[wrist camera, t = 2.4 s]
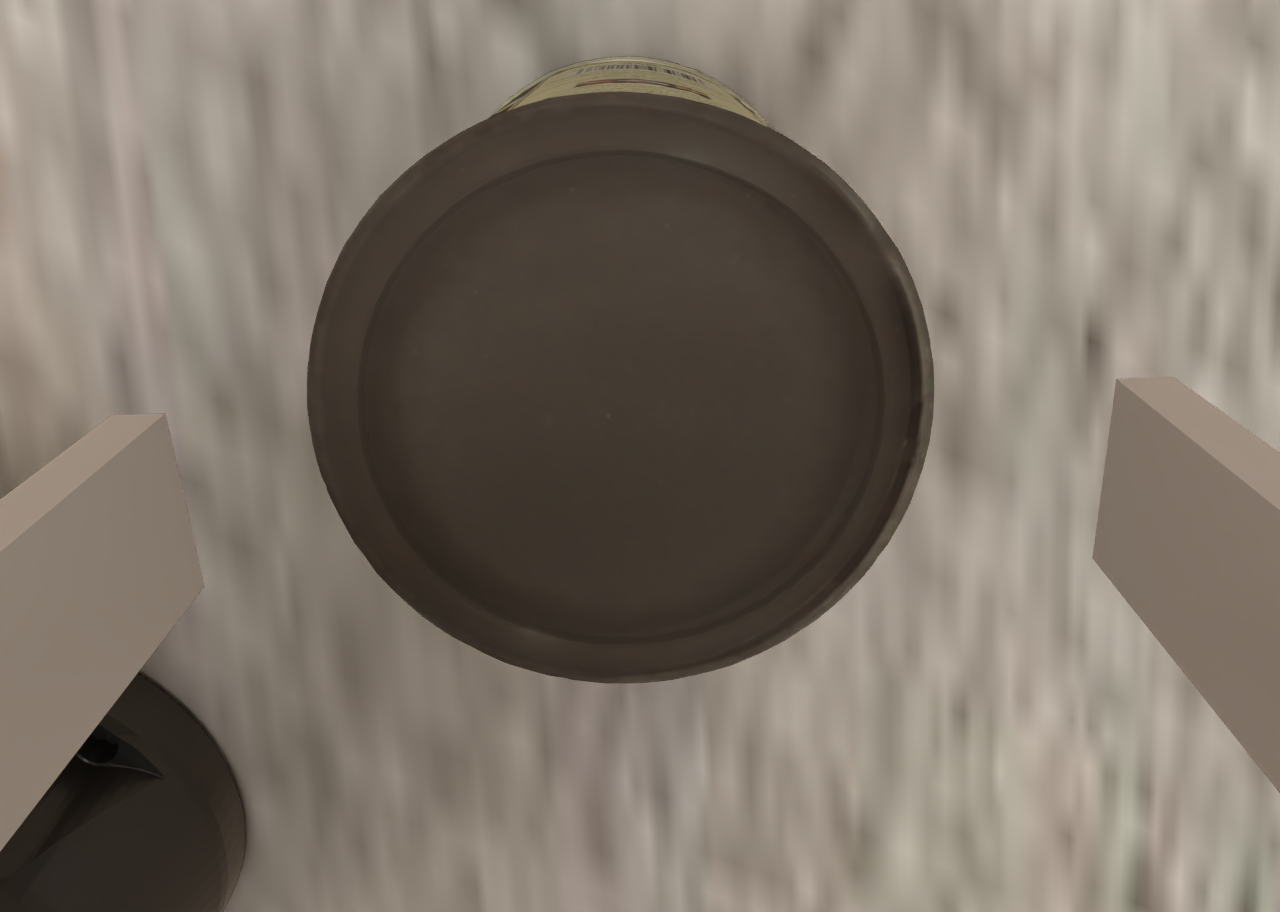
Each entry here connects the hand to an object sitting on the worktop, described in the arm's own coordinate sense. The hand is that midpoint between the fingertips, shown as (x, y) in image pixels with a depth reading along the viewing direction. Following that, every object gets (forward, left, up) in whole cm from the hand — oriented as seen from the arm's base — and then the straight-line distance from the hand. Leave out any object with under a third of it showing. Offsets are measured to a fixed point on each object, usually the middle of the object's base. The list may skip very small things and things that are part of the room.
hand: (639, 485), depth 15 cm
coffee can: (0, 0, -17) cm, 17 cm away
